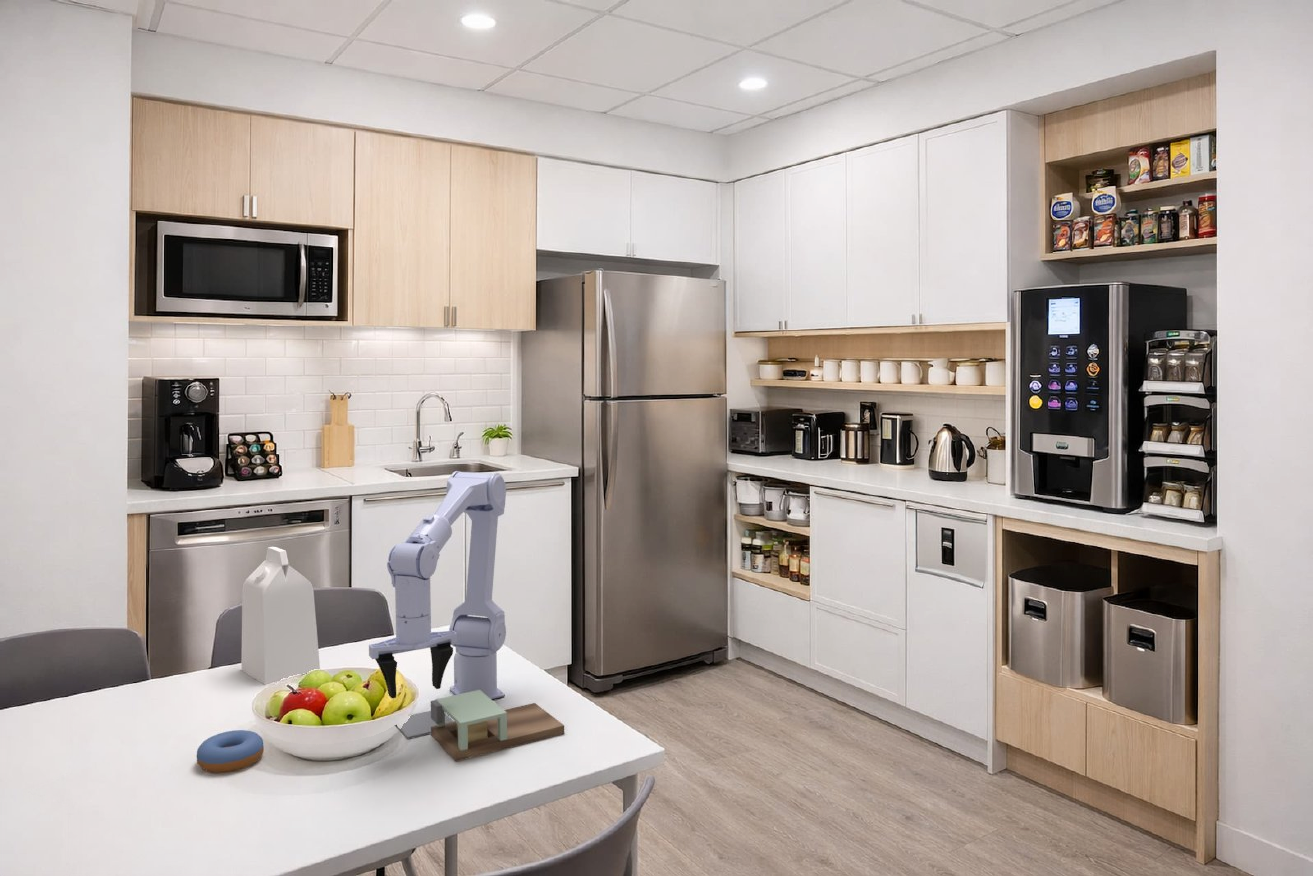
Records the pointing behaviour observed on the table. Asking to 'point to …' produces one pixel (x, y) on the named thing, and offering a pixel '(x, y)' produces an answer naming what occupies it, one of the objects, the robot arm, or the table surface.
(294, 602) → the milk
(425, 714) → the mat
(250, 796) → the table surface
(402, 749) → the table surface
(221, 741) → the doughnut
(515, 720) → the board
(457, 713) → the cover
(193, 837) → the table surface
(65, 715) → the table surface
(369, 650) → the robot arm
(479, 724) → the block
